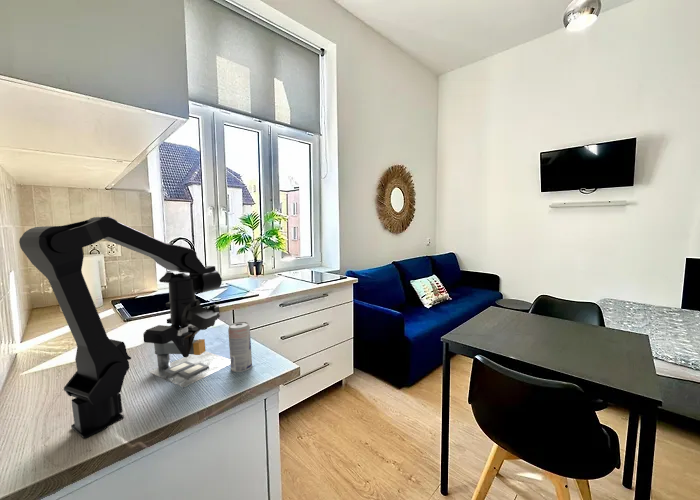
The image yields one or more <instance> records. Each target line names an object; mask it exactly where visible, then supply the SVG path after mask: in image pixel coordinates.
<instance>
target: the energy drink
mask: <svg viewBox="0 0 700 500" xmlns="http://www.w3.org/2000/svg"><path fill="white" fill-rule="evenodd" d="M227 329H228V347H229V359H230V362H231V364H230V370H231V371H232V372H234V373H242V372H246V371H248V370H249V369H251V368H252V367H253V358H252V357H253V356H252V339H251V327H250V323H249V322H247V321H237V322H234V323H231V324H229V325H228V328H227Z"/></svg>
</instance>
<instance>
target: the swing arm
mask: <svg viewBox="0 0 700 500" xmlns="http://www.w3.org/2000/svg"><path fill="white" fill-rule="evenodd" d="M153 345H154V347H153V348H154V354H155V355H156V356H157V355H161V354H169V355H182V354H181V352H180V351H179V349H178V348H177V346H176V345H175V344H174V342H173V341H170V342H168V343H165V344H157V343H153ZM206 350H207V349H206V341H205V338H204V339H203V338H202V339H194V340H193V343H192V346H191V349H190V353H189V355H191V354H194V355H201V354H202V353H203V352H205V351H206ZM206 352H207V351H206Z"/></svg>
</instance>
